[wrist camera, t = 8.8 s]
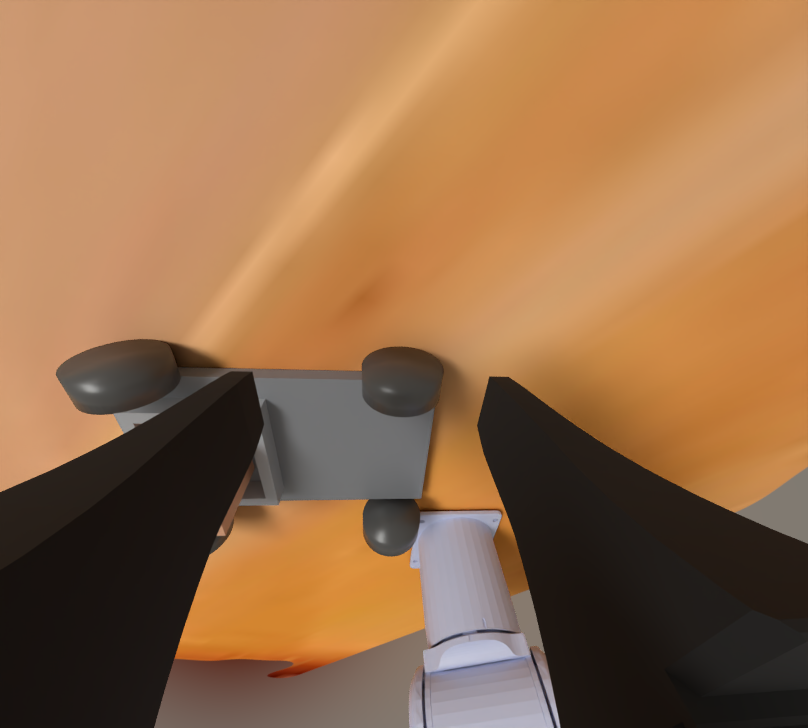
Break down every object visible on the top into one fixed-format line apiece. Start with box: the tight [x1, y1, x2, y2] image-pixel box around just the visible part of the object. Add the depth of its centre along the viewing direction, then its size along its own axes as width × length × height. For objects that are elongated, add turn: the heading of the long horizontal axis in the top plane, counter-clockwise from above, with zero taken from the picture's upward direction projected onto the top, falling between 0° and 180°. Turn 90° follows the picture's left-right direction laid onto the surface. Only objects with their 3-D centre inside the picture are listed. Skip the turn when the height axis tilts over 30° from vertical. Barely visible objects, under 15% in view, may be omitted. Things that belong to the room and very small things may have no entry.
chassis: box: [56, 339, 443, 556], centre depth 21 cm, size 16×20×5 cm
